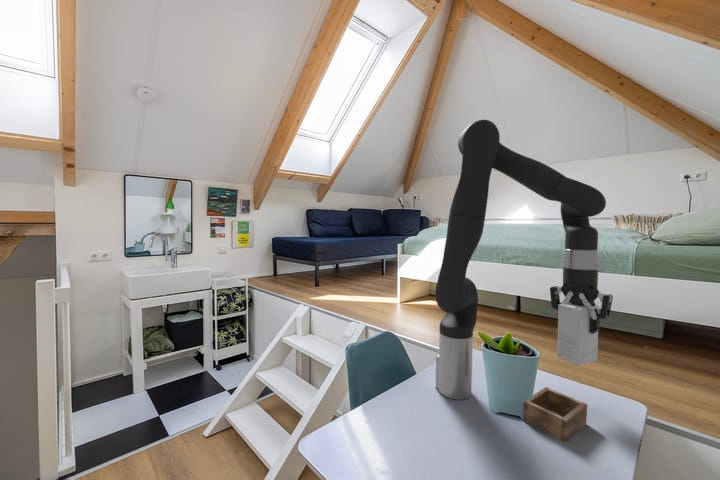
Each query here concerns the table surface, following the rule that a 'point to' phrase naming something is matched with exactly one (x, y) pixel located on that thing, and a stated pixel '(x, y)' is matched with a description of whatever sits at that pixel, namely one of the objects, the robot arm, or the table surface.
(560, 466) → the table surface
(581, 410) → the box
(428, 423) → the table surface
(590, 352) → the skincare box
